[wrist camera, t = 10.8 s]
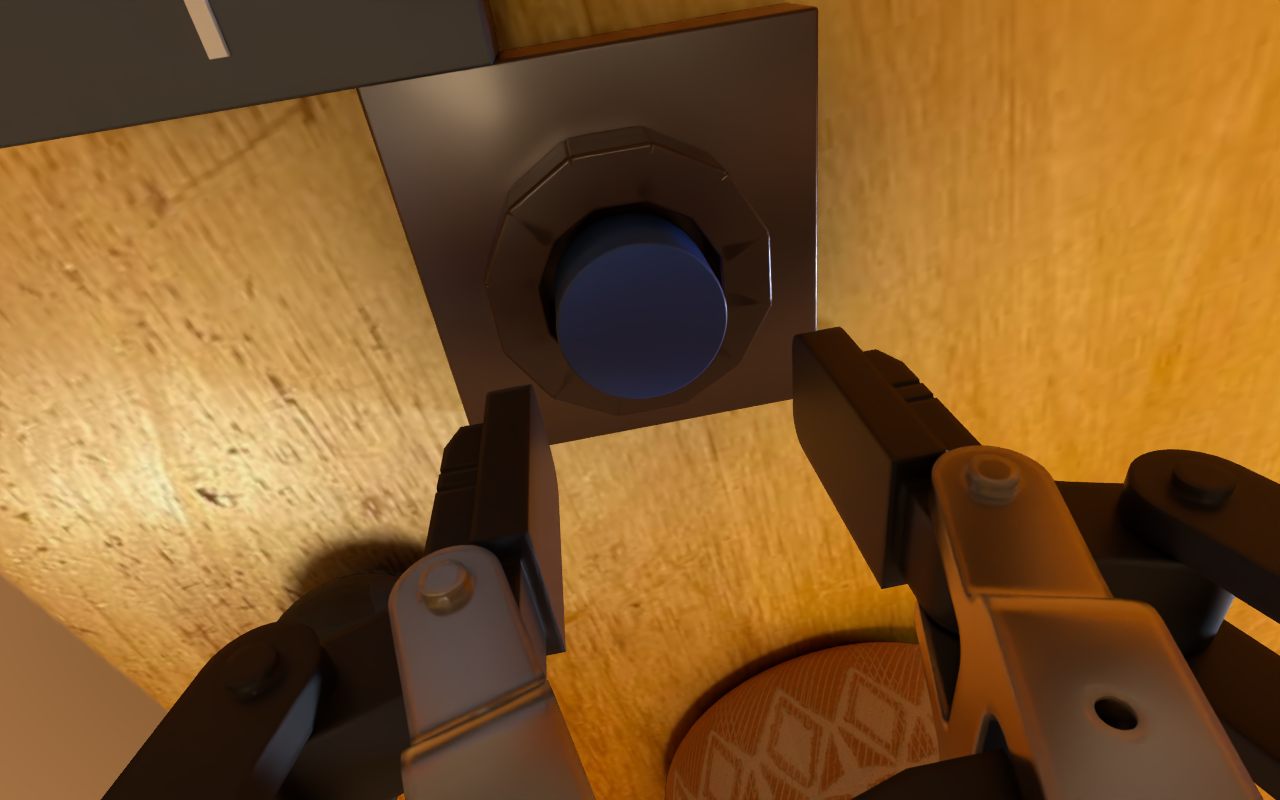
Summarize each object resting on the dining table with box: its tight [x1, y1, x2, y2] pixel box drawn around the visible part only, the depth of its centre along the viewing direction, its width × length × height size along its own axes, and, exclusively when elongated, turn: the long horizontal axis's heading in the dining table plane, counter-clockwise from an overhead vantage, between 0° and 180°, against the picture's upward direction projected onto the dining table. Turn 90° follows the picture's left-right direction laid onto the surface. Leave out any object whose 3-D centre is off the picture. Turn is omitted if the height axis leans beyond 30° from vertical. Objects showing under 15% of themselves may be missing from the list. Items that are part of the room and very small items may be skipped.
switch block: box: [356, 3, 818, 445], centre depth 17 cm, size 10×10×4 cm
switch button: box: [554, 212, 727, 399], centre depth 15 cm, size 4×4×2 cm
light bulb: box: [277, 573, 400, 640], centre depth 23 cm, size 6×6×10 cm
